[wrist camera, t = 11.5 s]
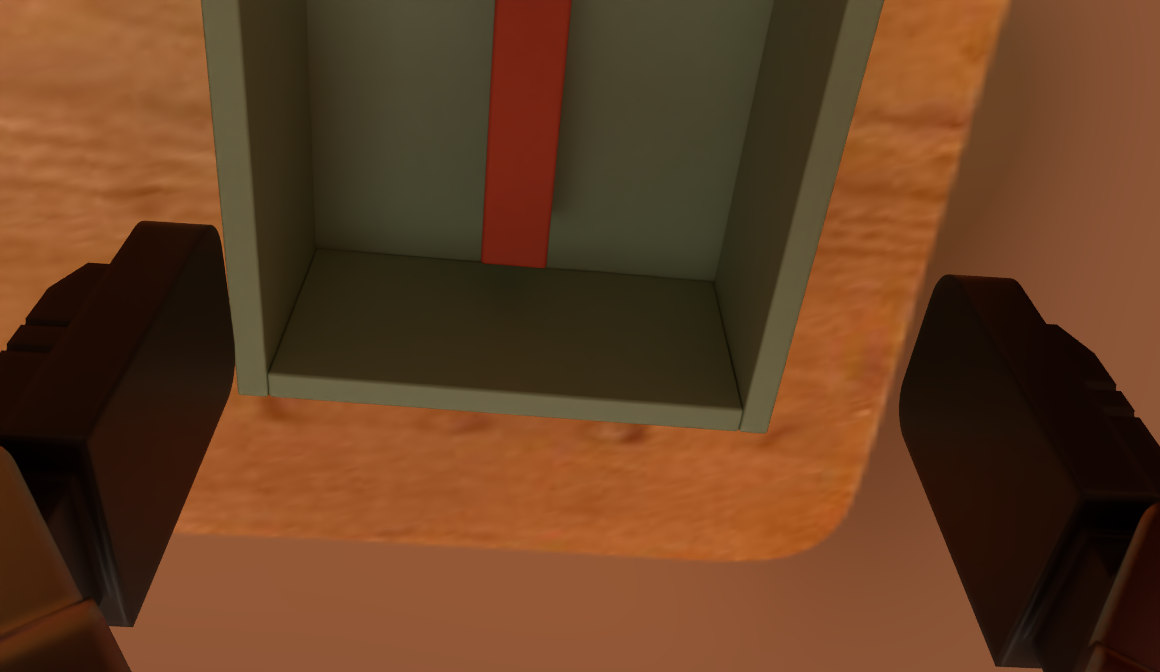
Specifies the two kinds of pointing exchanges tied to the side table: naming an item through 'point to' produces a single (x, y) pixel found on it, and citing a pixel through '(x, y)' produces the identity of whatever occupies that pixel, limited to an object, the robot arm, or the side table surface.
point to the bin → (579, 212)
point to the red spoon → (523, 129)
